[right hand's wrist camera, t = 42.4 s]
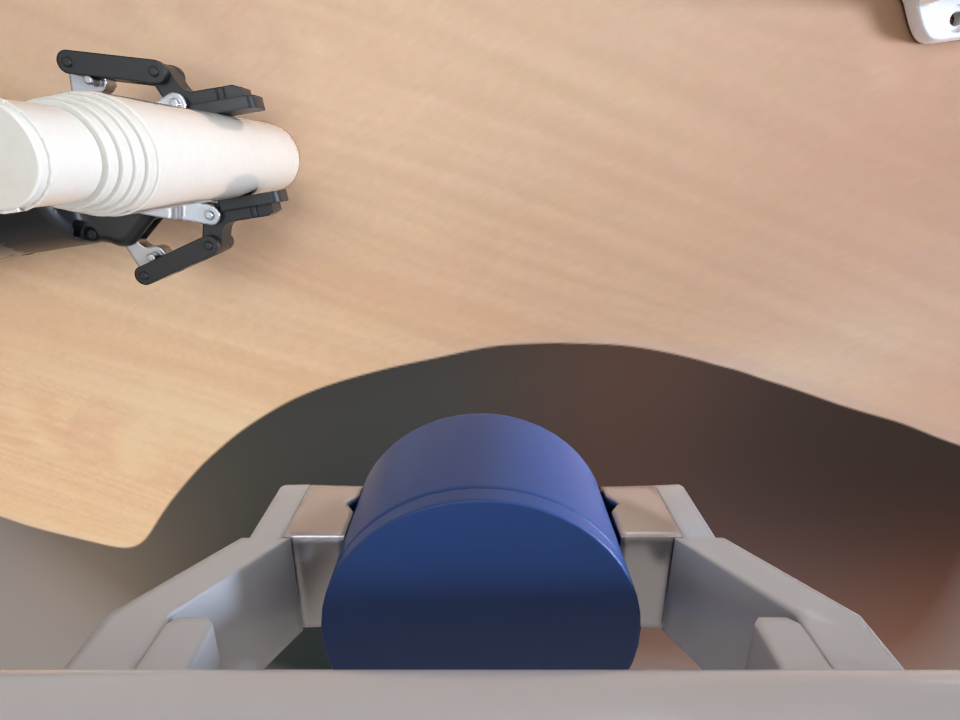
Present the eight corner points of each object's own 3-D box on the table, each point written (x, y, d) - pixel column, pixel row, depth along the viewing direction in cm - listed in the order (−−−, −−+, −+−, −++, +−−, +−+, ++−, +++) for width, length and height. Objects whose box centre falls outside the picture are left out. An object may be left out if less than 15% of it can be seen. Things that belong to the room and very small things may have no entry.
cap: (357, 610, 11) (322, 739, 9) (359, 402, 10) (318, 487, 7) (584, 624, 11) (613, 756, 9) (622, 421, 10) (670, 512, 7)
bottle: (225, 128, 40) (-133, 82, 16) (289, 117, 40) (22, 54, 16) (244, 196, 42) (-54, 245, 18) (306, 185, 41) (88, 220, 18)
